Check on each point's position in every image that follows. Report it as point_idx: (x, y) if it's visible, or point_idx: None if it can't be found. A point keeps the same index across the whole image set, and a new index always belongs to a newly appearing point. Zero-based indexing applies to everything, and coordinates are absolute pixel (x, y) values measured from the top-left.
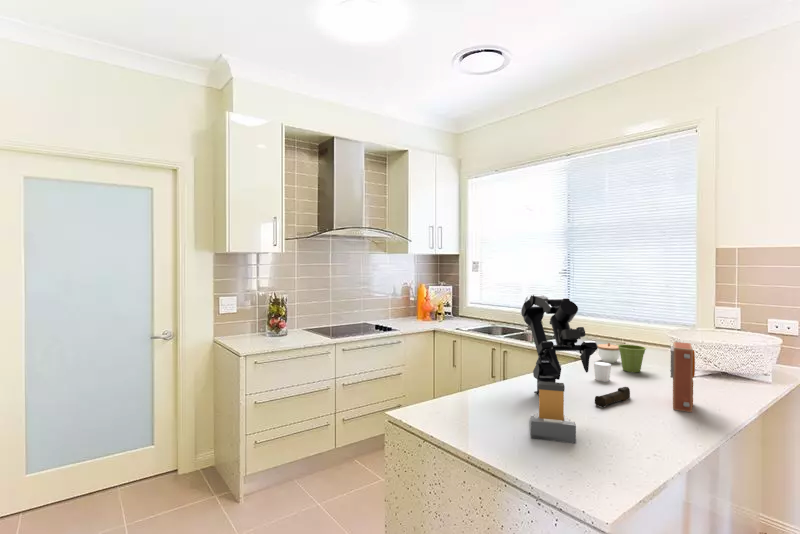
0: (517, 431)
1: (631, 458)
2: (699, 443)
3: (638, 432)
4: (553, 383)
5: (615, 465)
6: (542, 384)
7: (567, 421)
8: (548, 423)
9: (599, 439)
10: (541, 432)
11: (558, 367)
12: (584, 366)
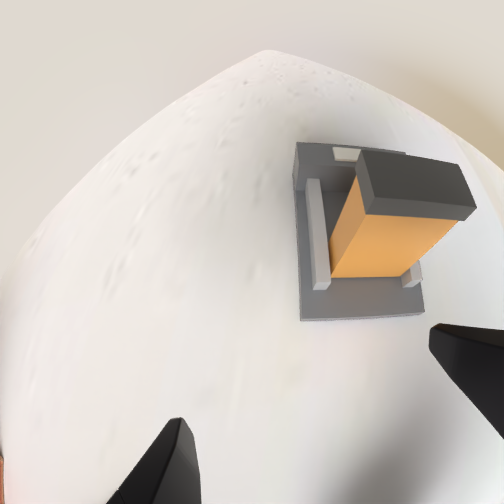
0: None
1: (187, 144)
2: (28, 254)
3: (106, 288)
4: (416, 181)
5: (227, 117)
6: (446, 162)
7: (319, 162)
8: (365, 148)
9: (228, 211)
10: None
11: (460, 330)
12: (191, 485)
